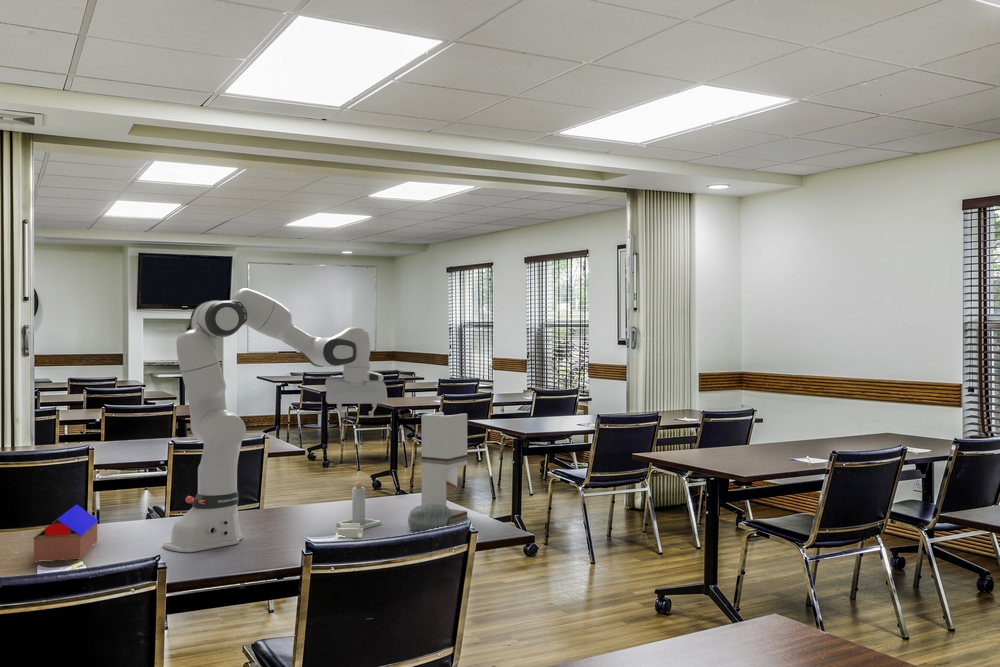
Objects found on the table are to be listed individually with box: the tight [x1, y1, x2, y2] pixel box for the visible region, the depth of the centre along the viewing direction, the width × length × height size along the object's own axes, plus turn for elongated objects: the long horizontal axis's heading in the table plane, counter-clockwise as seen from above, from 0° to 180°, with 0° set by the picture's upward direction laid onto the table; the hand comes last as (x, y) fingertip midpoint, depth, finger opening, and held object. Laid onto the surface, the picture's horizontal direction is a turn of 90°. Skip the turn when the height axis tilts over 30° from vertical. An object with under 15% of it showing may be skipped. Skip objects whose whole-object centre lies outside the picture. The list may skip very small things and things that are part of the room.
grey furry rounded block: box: [407, 504, 451, 532], centre depth 252 cm, size 14×10×10 cm
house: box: [32, 504, 99, 562], centre depth 227 cm, size 12×20×12 cm, turn 14°
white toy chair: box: [334, 523, 365, 539], centre depth 246 cm, size 8×11×3 cm
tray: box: [335, 517, 382, 530], centre depth 256 cm, size 10×10×2 cm
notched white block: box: [421, 411, 468, 524], centre depth 269 cm, size 11×11×35 cm
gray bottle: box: [351, 482, 366, 526], centre depth 256 cm, size 4×4×14 cm
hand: (356, 417), depth 269 cm, fingers open, 8 cm apart
